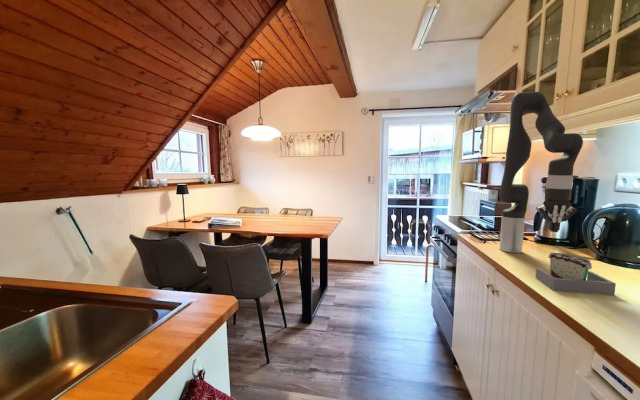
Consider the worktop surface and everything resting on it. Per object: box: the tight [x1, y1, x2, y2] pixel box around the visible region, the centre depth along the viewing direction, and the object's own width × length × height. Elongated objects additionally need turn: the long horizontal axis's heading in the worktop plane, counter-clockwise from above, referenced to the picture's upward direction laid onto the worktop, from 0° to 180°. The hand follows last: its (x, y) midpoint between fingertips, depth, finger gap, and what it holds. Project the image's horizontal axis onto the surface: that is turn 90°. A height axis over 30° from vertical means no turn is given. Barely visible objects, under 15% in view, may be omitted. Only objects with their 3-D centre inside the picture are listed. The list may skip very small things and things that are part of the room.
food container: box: [547, 252, 593, 280], centre depth 94 cm, size 12×6×10 cm, turn 13°
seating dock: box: [535, 267, 616, 296], centre depth 93 cm, size 10×17×4 cm, turn 77°
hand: (553, 231), depth 104 cm, fingers closed
